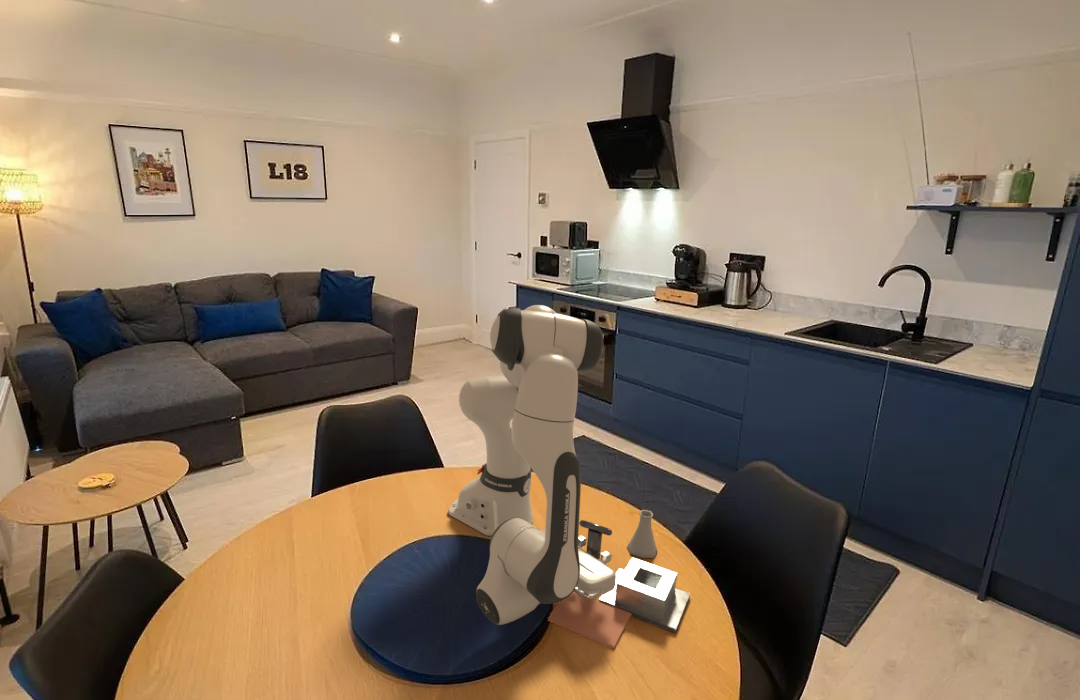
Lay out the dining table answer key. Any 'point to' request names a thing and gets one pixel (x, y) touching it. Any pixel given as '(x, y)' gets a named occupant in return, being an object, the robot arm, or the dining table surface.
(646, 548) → the flask
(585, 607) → the key mat
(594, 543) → the chuck key
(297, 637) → the dining table surface
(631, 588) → the block
